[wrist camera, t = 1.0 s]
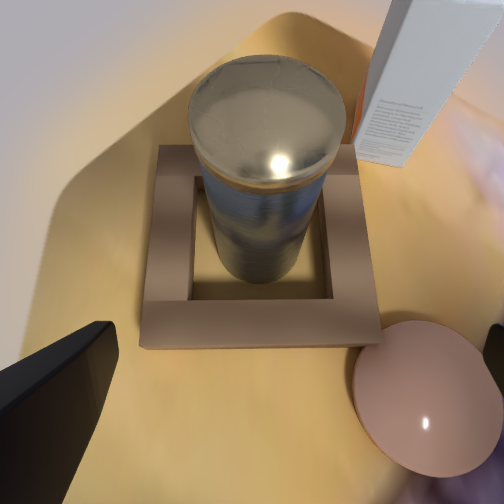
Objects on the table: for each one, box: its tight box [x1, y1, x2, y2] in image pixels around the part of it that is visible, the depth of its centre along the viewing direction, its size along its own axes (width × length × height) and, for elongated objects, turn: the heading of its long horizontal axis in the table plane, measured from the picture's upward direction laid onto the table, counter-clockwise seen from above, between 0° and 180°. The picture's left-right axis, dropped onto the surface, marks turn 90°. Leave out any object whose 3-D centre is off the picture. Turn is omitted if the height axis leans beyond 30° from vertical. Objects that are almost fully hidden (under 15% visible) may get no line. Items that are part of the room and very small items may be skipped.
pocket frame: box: [139, 144, 383, 350], centre depth 23 cm, size 13×13×2 cm
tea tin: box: [188, 55, 346, 284], centre depth 18 cm, size 6×6×12 cm
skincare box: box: [350, 0, 504, 168], centre depth 22 cm, size 6×4×12 cm
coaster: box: [352, 320, 503, 478], centre depth 20 cm, size 8×8×1 cm
